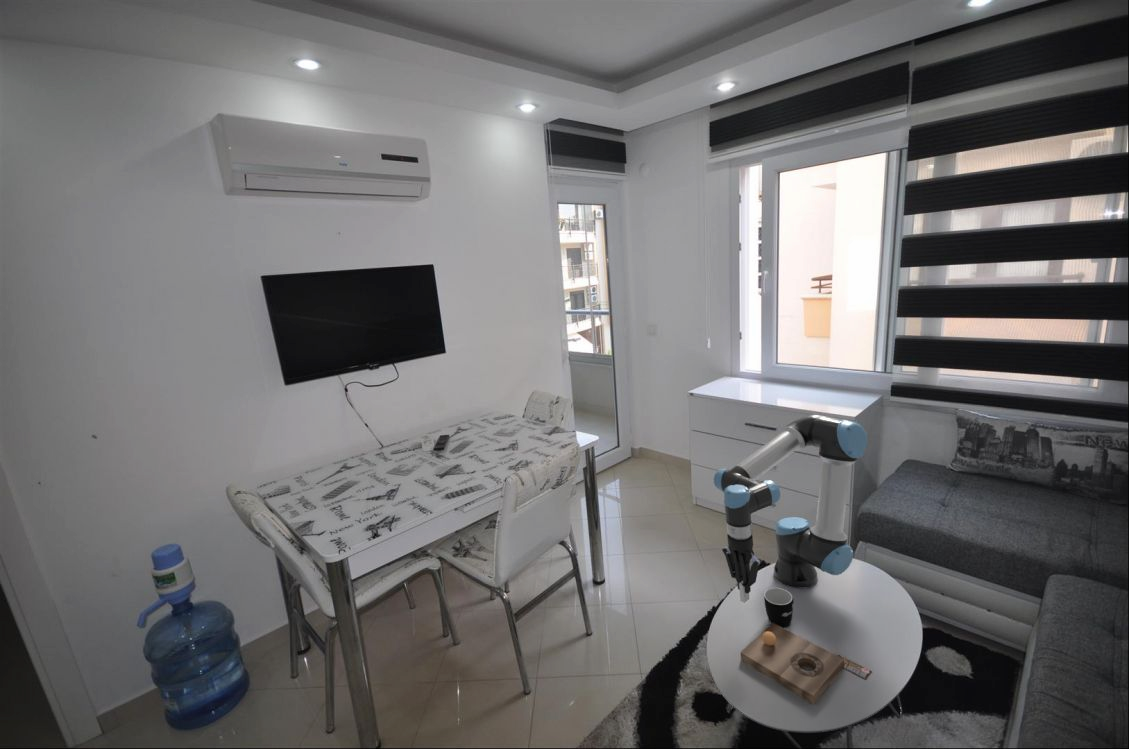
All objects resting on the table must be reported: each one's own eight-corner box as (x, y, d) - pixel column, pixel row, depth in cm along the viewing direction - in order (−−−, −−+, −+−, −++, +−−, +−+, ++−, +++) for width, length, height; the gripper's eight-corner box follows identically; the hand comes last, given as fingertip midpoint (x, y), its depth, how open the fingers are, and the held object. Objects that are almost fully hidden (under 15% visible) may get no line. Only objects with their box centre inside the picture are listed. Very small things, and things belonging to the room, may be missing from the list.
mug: (783, 635, 163) (781, 608, 161) (760, 621, 171) (758, 595, 169) (805, 618, 169) (803, 592, 167) (782, 605, 177) (780, 580, 175)
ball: (767, 637, 160) (766, 626, 159) (779, 643, 157) (778, 632, 156) (760, 644, 158) (759, 633, 157) (771, 650, 154) (771, 639, 154)
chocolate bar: (875, 673, 145) (875, 671, 145) (868, 684, 142) (868, 681, 142) (836, 654, 153) (836, 652, 153) (829, 663, 151) (829, 661, 150)
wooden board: (741, 660, 156) (740, 652, 156) (772, 630, 166) (772, 622, 166) (813, 704, 138) (813, 695, 137) (844, 667, 148) (843, 659, 147)
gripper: (714, 531, 159) (720, 596, 164) (751, 546, 149) (756, 615, 153) (729, 522, 163) (734, 586, 168) (765, 535, 153) (770, 603, 157)
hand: (744, 599), depth 161 cm, fingers closed
